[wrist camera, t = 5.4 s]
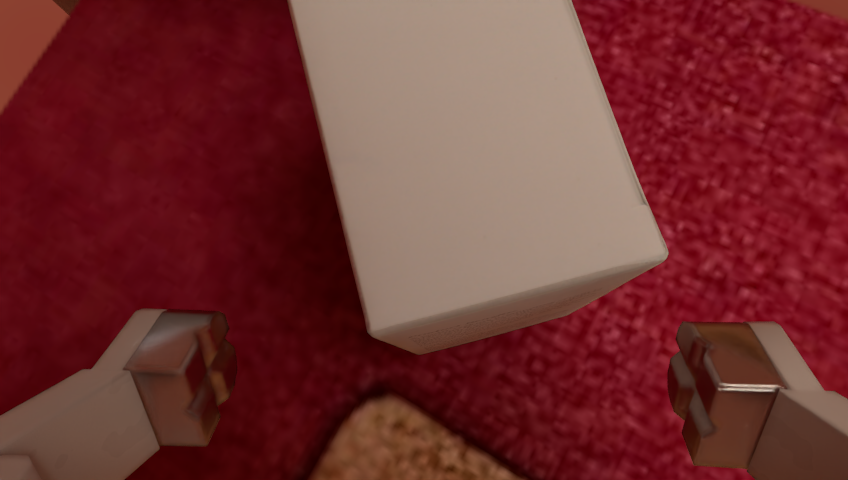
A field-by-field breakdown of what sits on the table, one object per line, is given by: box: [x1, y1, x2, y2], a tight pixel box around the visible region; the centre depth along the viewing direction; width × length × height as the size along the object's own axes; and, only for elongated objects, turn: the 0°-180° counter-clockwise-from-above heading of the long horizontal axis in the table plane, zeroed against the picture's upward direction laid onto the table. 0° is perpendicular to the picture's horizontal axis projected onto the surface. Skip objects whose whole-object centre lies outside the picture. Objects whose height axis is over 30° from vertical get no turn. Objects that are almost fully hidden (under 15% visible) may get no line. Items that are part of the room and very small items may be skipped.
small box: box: [287, 0, 669, 355], centre depth 16 cm, size 8×6×10 cm
